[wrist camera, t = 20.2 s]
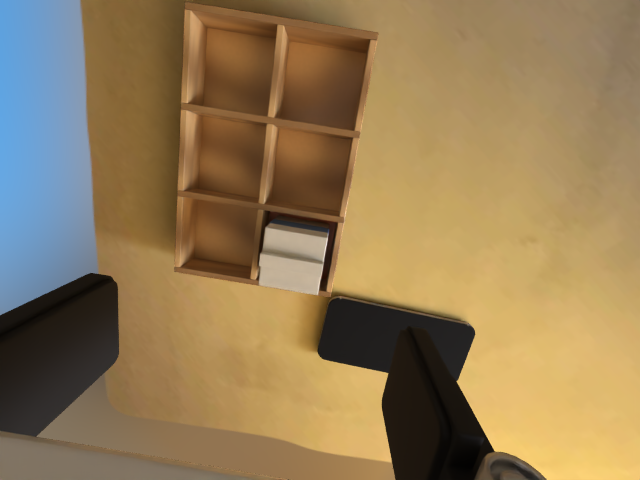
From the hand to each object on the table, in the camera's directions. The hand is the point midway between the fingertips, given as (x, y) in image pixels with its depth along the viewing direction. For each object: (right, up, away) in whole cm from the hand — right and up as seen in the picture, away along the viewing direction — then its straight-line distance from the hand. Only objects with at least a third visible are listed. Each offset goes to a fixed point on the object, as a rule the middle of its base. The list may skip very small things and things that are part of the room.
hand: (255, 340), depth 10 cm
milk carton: (0, +3, +19) cm, 19 cm away
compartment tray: (-2, +10, +18) cm, 21 cm away
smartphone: (+10, -7, +22) cm, 25 cm away
